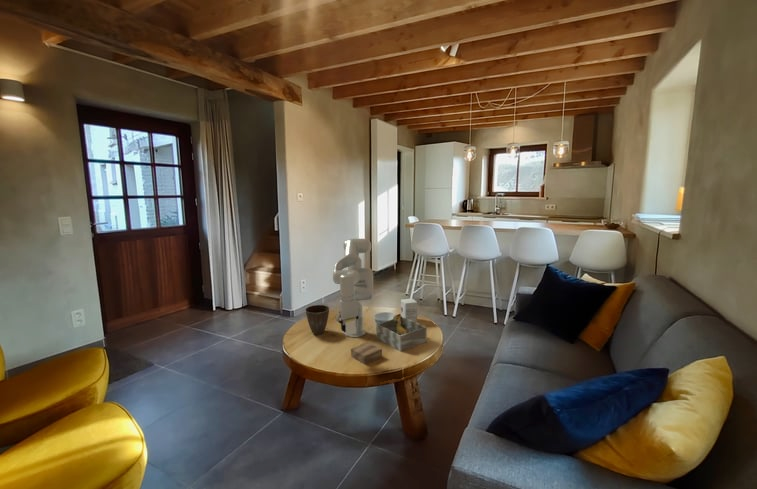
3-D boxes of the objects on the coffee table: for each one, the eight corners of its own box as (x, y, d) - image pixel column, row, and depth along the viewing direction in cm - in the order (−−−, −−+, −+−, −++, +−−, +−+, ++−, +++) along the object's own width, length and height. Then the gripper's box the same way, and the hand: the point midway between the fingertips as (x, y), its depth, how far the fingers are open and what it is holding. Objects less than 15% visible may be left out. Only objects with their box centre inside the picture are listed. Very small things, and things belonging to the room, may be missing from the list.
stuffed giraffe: (397, 330, 219) (397, 307, 216) (420, 339, 208) (421, 314, 205) (381, 340, 207) (381, 315, 204) (405, 349, 196) (405, 324, 193)
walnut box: (351, 357, 187) (351, 348, 186) (367, 350, 195) (367, 342, 194) (365, 365, 178) (364, 356, 177) (382, 357, 186) (381, 349, 185)
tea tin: (341, 331, 182) (341, 317, 181) (350, 329, 185) (350, 315, 184) (346, 335, 178) (346, 321, 176) (356, 332, 181) (355, 318, 179)
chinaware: (397, 331, 219) (396, 320, 218) (373, 331, 219) (373, 320, 218) (396, 322, 234) (396, 312, 233) (374, 322, 234) (374, 312, 233)
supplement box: (400, 319, 239) (400, 299, 237) (412, 318, 242) (412, 297, 239) (405, 324, 230) (405, 303, 228) (417, 322, 233) (417, 301, 231)
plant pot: (332, 328, 226) (331, 305, 224) (327, 337, 212) (326, 313, 209) (310, 327, 228) (309, 304, 225) (303, 337, 213) (302, 312, 210)
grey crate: (376, 337, 210) (376, 324, 209) (402, 329, 222) (402, 316, 221) (400, 351, 192) (400, 336, 191) (426, 341, 204) (426, 327, 203)
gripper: (358, 292, 186) (359, 323, 189) (329, 298, 176) (331, 331, 180) (365, 296, 180) (366, 328, 183) (336, 302, 170) (337, 336, 173)
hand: (348, 329), depth 181 cm, fingers closed on tea tin, 5 cm apart
